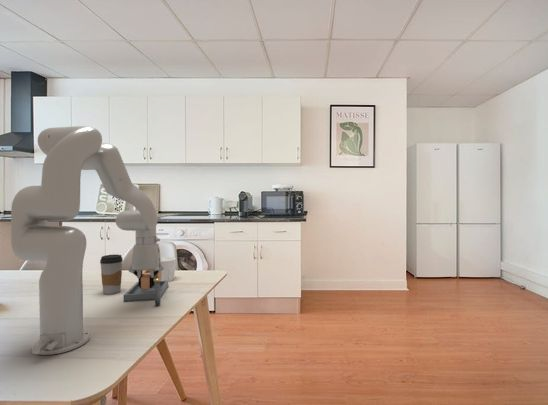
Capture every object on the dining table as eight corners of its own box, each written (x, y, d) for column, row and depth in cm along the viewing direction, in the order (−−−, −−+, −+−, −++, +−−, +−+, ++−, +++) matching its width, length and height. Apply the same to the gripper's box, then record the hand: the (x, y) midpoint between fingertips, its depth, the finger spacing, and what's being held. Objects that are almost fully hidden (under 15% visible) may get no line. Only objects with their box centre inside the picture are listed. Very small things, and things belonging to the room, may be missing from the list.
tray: (159, 299, 116) (159, 293, 116) (123, 301, 114) (123, 295, 114) (168, 286, 134) (168, 280, 134) (137, 287, 132) (137, 281, 132)
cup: (148, 281, 141) (148, 260, 141) (163, 276, 150) (162, 256, 150) (166, 283, 138) (166, 261, 138) (180, 278, 147) (180, 257, 147)
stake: (160, 306, 109) (160, 279, 109) (153, 306, 109) (152, 279, 108) (162, 303, 112) (161, 277, 111) (154, 304, 111) (154, 277, 111)
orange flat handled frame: (161, 279, 131) (161, 269, 131) (154, 288, 118) (154, 277, 118) (144, 280, 130) (144, 269, 130) (135, 289, 117) (135, 278, 117)
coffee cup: (113, 296, 120) (113, 258, 120) (95, 294, 122) (94, 257, 122) (127, 289, 129) (127, 254, 128) (110, 288, 130) (110, 253, 130)
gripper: (169, 239, 125) (169, 283, 125) (127, 240, 122) (127, 285, 122) (165, 241, 117) (166, 289, 118) (120, 243, 114) (121, 291, 115)
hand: (146, 286), depth 120 cm, fingers closed on orange flat handled frame, 3 cm apart
